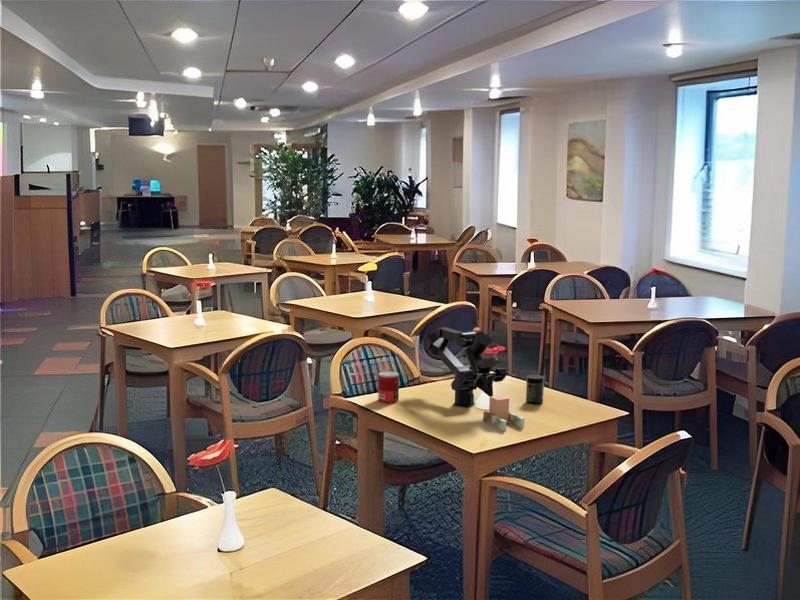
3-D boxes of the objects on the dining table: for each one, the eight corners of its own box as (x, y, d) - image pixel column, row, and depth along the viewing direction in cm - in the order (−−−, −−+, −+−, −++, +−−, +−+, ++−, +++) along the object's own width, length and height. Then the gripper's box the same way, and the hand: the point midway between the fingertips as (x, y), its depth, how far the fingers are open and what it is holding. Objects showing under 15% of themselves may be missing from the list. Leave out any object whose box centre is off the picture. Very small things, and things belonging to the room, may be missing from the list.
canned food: (398, 403, 326) (398, 376, 325) (377, 403, 326) (377, 375, 325) (398, 398, 334) (399, 371, 332) (378, 398, 334) (378, 370, 332)
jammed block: (489, 420, 305) (489, 396, 303) (500, 419, 307) (501, 395, 306) (496, 424, 300) (497, 400, 299) (508, 422, 303) (509, 398, 301)
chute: (483, 420, 305) (483, 411, 304) (503, 418, 309) (503, 408, 308) (503, 431, 293) (503, 421, 293) (524, 427, 297) (524, 418, 297)
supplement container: (541, 405, 325) (542, 379, 324) (524, 404, 328) (525, 378, 326) (544, 401, 332) (545, 375, 330) (527, 399, 334) (528, 374, 332)
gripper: (462, 350, 305) (478, 387, 297) (506, 346, 313) (522, 382, 305) (451, 367, 313) (466, 403, 305) (494, 363, 321) (509, 398, 313)
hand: (491, 396), depth 307 cm, fingers closed
